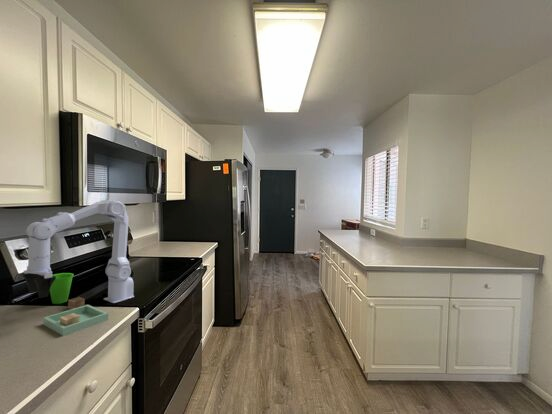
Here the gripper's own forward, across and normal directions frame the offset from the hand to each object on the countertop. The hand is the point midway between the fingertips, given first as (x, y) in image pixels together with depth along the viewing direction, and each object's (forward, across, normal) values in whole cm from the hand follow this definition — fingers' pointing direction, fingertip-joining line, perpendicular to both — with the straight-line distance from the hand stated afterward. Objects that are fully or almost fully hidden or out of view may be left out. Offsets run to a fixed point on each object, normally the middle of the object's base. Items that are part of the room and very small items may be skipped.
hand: (38, 294), depth 94 cm
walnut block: (+10, -2, +13) cm, 17 cm away
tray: (+10, +11, +7) cm, 16 cm away
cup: (+10, -16, +13) cm, 23 cm away
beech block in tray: (+10, +14, +4) cm, 17 cm away
